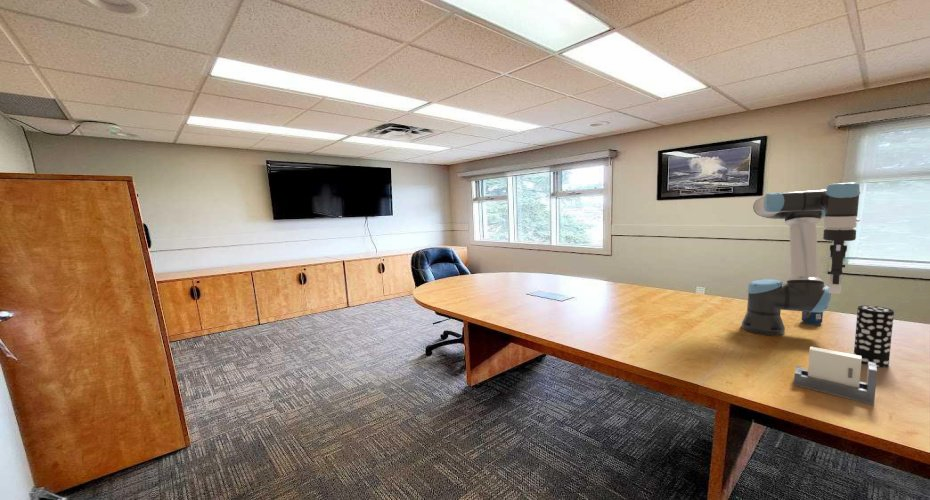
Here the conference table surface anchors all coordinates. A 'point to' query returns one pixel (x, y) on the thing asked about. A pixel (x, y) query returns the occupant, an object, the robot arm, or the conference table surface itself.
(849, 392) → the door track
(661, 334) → the conference table surface
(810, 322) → the soda can
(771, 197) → the robot arm
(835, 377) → the door panel
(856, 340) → the white-spotted black cylinder
